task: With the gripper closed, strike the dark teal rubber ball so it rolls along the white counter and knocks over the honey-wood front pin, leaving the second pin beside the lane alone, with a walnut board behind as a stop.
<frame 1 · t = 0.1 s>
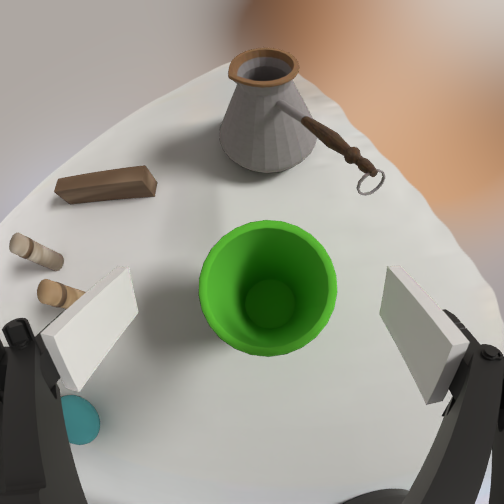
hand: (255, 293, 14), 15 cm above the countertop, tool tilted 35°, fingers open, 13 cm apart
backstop: (109, 193, 34), on the countertop
coffee pot: (287, 174, 33), on the countertop
side pin: (57, 262, 32), on the countertop
ball: (75, 420, 23), on the countertop
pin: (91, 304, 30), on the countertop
cup: (270, 304, 29), on the countertop
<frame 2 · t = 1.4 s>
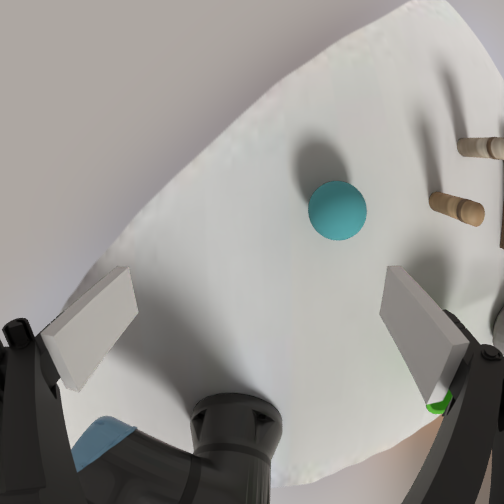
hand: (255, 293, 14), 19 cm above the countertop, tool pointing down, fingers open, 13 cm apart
coffee pot: (488, 333, 35), on the countertop
side pin: (463, 147, 27), on the countertop
ball: (337, 210, 28), on the countertop
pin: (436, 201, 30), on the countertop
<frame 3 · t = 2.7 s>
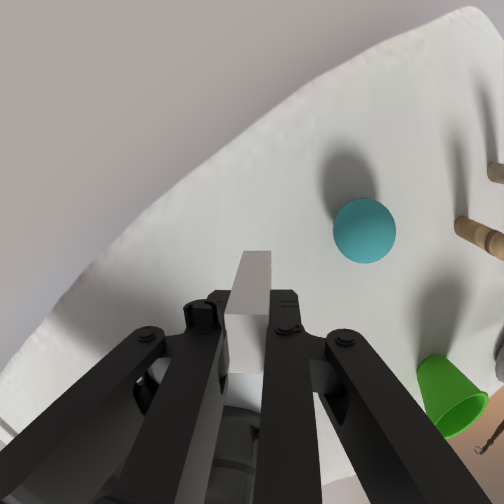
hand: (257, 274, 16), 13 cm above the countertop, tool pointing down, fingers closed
coffee pot: (491, 360, 33), on the countertop
side pin: (493, 172, 25), on the countertop
ball: (364, 230, 25), on the countertop
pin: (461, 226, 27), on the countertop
cup: (430, 366, 34), on the countertop
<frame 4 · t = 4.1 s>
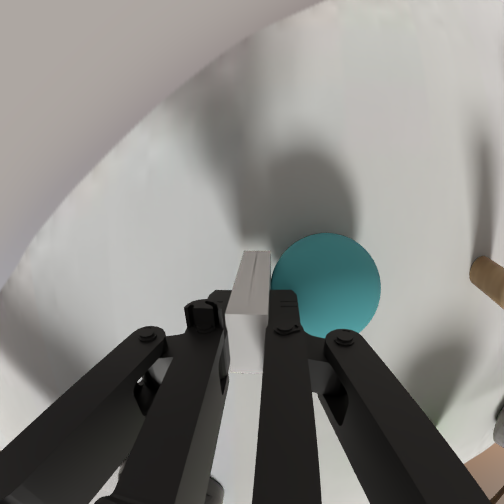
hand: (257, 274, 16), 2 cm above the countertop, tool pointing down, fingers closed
coffee pot: (491, 419, 24), on the countertop
ball: (325, 289, 15), on the countertop, touching gripper
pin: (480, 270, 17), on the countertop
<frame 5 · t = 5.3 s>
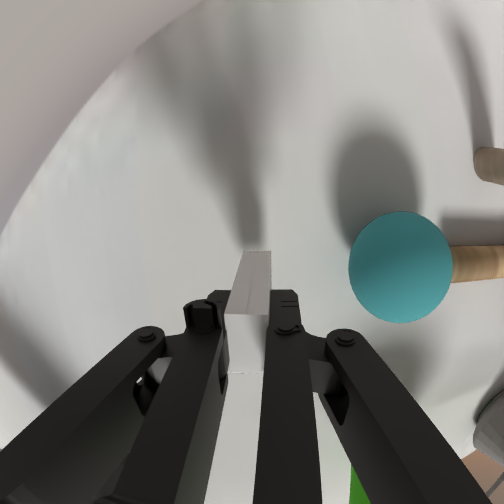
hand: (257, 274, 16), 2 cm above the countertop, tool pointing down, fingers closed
coffee pot: (470, 423, 23), on the countertop
side pin: (485, 164, 14), on the countertop
ball: (401, 267, 14), on the countertop
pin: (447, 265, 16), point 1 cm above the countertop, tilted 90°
cup: (374, 440, 24), on the countertop
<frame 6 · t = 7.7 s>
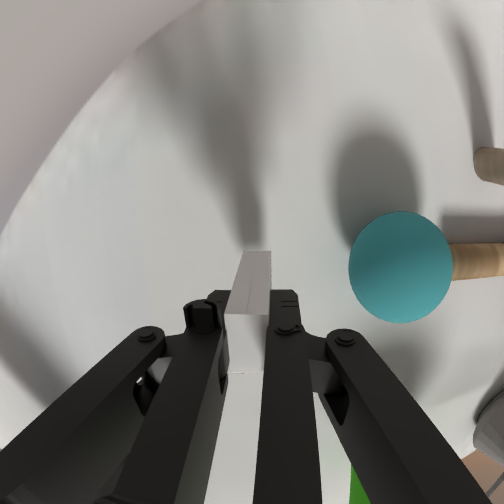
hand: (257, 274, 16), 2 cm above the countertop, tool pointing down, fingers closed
coffee pot: (470, 423, 23), on the countertop
side pin: (485, 164, 14), on the countertop
ball: (401, 267, 14), on the countertop
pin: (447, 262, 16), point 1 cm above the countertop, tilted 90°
cup: (374, 440, 24), on the countertop
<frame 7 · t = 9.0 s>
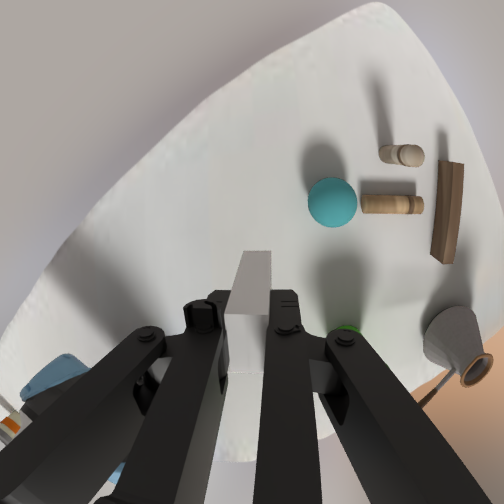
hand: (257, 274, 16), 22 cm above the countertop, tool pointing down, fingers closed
reusable coffee cup: (22, 418, 70), on the countertop
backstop: (441, 208, 35), on the countertop
coffee pot: (421, 339, 43), on the countertop
side pin: (387, 154, 34), on the countertop
ball: (332, 202, 33), on the countertop
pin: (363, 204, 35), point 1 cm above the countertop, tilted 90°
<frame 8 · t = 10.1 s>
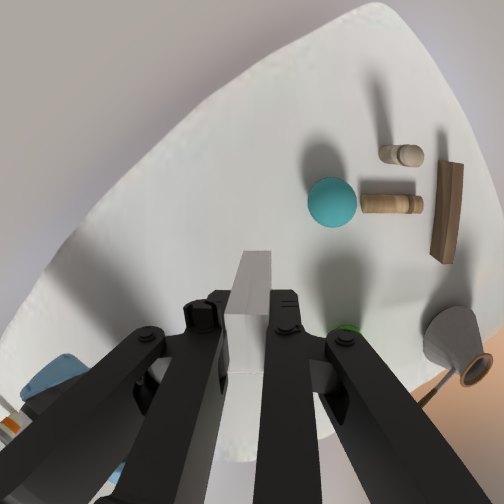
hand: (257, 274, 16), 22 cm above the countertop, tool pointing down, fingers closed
reusable coffee cup: (22, 418, 70), on the countertop
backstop: (440, 208, 35), on the countertop
coffee pot: (421, 339, 43), on the countertop
side pin: (386, 154, 34), on the countertop
ball: (332, 202, 33), on the countertop
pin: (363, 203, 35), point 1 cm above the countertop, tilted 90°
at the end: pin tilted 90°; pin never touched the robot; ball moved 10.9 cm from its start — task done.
